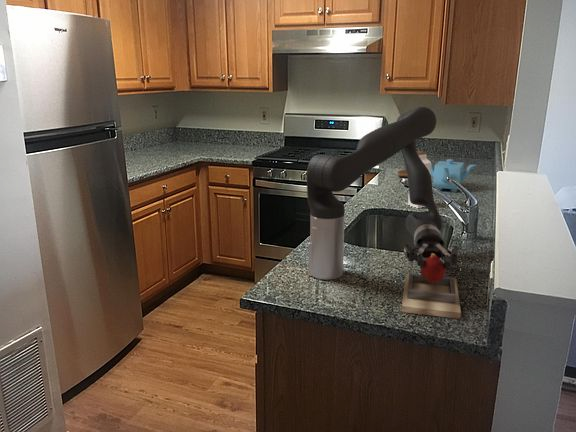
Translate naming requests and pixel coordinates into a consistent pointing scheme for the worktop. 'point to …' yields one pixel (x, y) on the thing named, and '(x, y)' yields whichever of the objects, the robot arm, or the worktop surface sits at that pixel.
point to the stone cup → (404, 172)
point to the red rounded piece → (433, 269)
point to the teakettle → (449, 174)
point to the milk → (428, 165)
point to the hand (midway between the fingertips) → (434, 265)
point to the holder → (431, 296)
